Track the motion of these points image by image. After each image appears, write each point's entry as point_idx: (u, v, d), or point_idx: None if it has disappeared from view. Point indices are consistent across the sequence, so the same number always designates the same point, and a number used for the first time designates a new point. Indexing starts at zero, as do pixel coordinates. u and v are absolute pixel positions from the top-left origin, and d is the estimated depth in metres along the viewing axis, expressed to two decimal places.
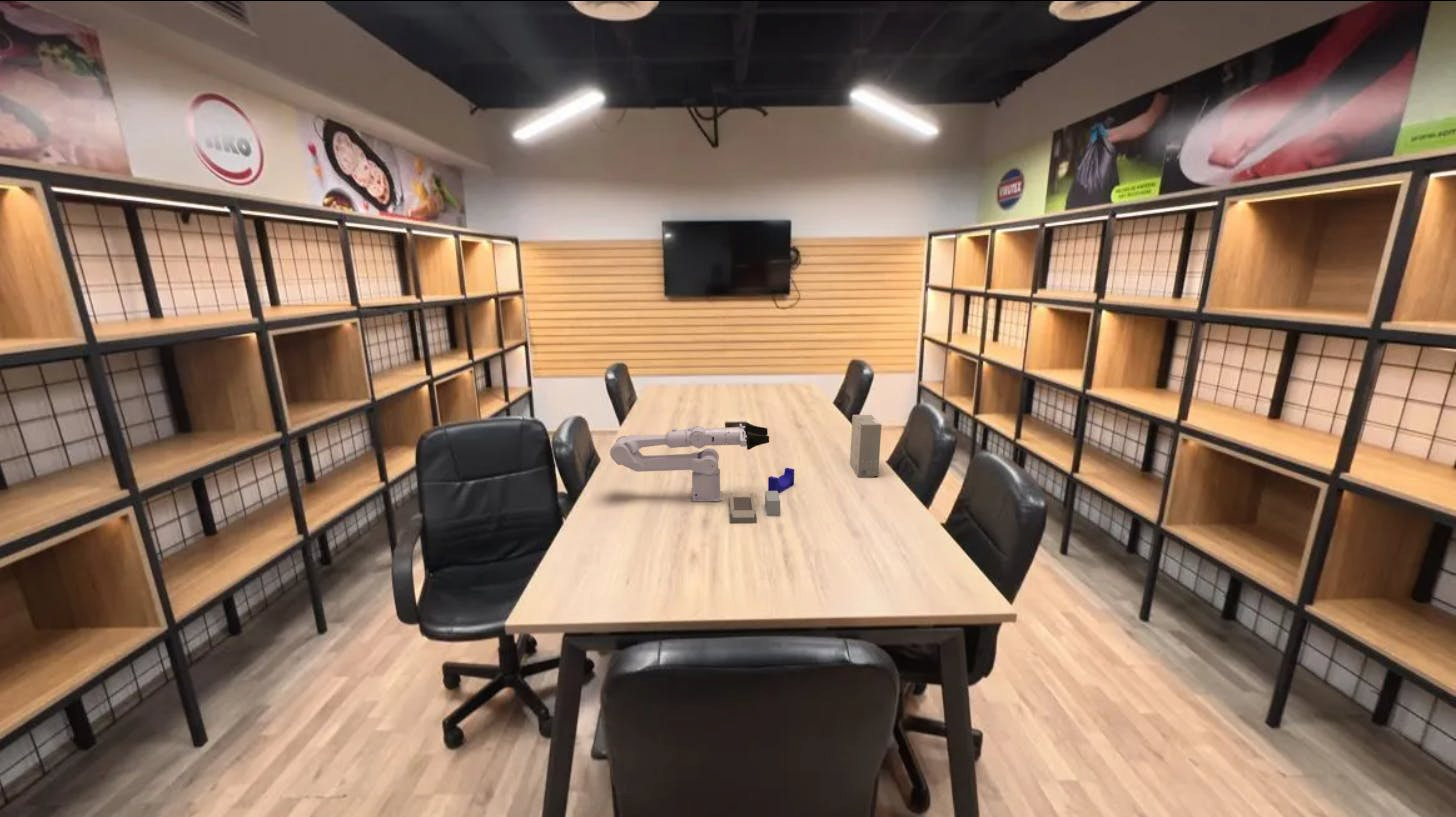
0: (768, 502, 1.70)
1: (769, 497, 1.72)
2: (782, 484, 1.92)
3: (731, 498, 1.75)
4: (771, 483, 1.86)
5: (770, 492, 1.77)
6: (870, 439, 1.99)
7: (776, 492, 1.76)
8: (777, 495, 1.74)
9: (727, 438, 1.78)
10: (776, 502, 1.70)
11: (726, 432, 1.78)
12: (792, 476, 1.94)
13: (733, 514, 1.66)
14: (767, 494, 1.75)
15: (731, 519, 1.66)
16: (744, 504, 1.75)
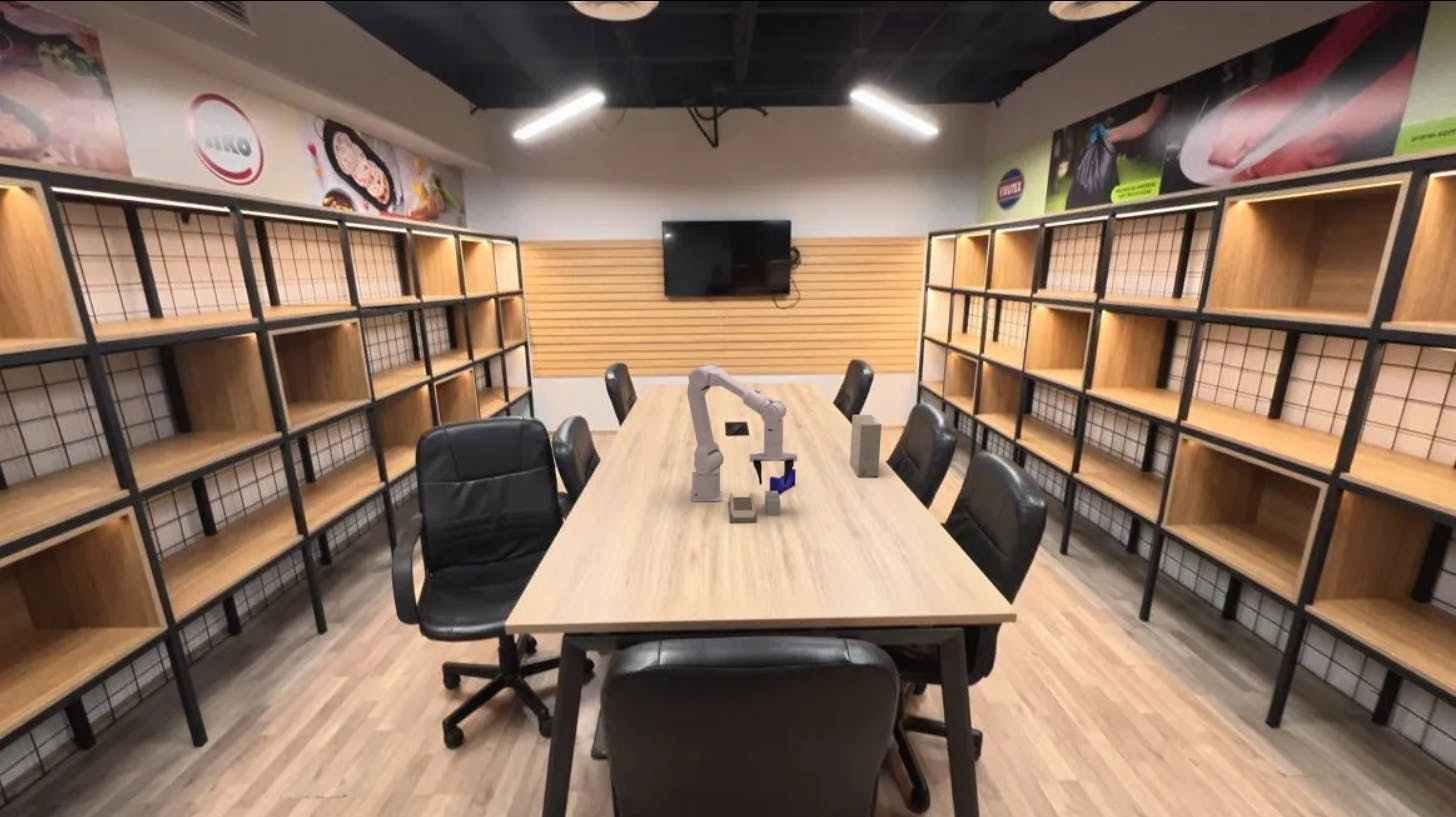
0: (768, 502, 1.70)
1: (769, 497, 1.72)
2: (783, 484, 1.92)
3: (731, 498, 1.75)
4: (773, 483, 1.86)
5: (770, 492, 1.77)
6: (870, 439, 1.99)
7: (776, 492, 1.76)
8: (777, 495, 1.74)
9: (764, 442, 1.69)
10: (776, 502, 1.70)
11: (767, 443, 1.68)
12: (794, 476, 1.94)
13: (733, 514, 1.66)
14: (767, 494, 1.75)
15: (731, 519, 1.66)
16: (744, 504, 1.75)
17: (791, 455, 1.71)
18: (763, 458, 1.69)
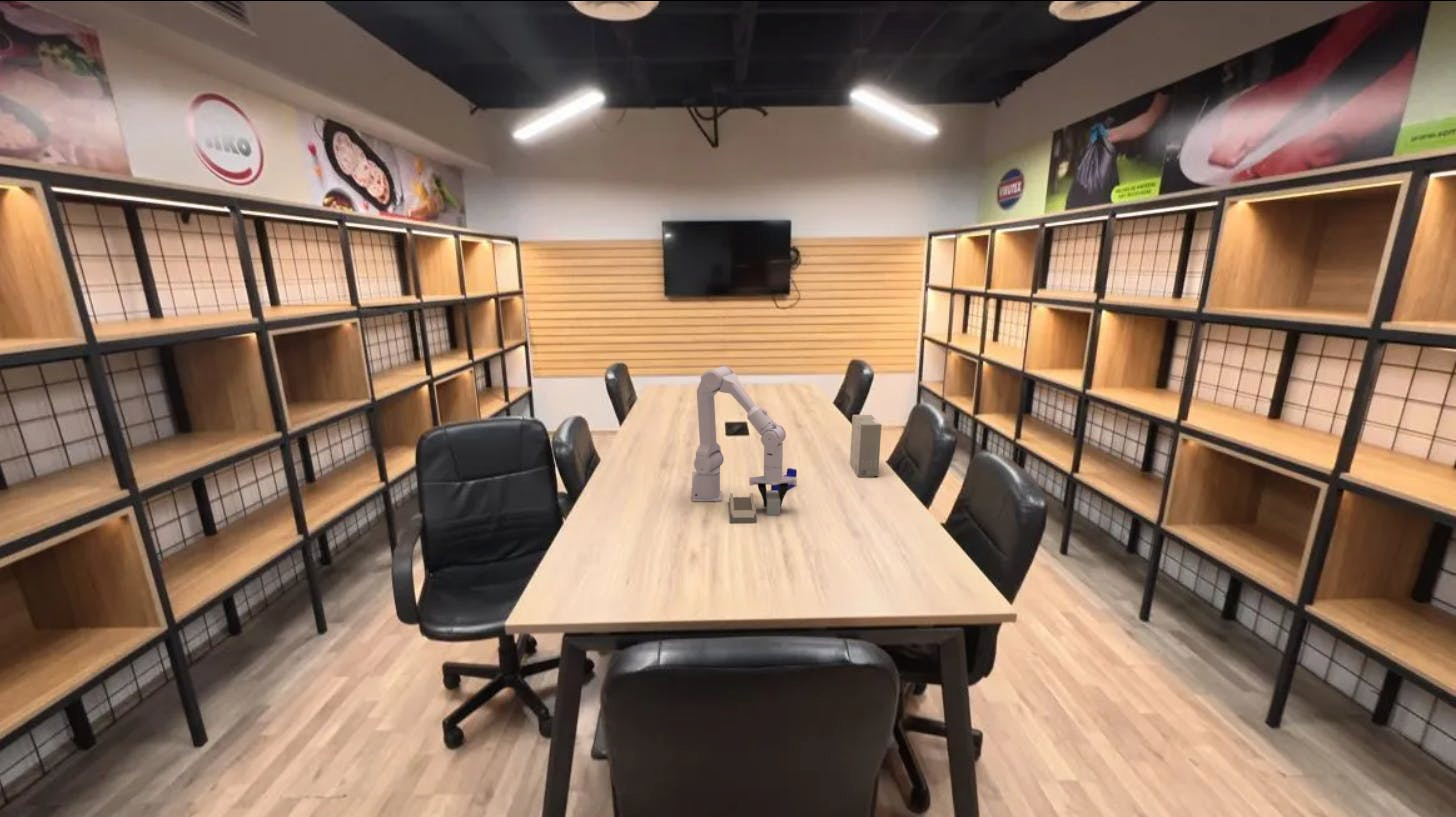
0: (768, 502, 1.70)
1: (769, 497, 1.72)
2: None
3: (731, 498, 1.75)
4: None
5: (770, 491, 1.77)
6: (870, 439, 1.99)
7: (776, 492, 1.76)
8: (777, 495, 1.74)
9: (764, 466, 1.71)
10: (776, 501, 1.70)
11: (767, 467, 1.69)
12: (795, 476, 1.94)
13: (733, 514, 1.66)
14: (767, 494, 1.75)
15: (731, 519, 1.66)
16: (744, 504, 1.75)
17: (790, 478, 1.72)
18: (763, 482, 1.70)
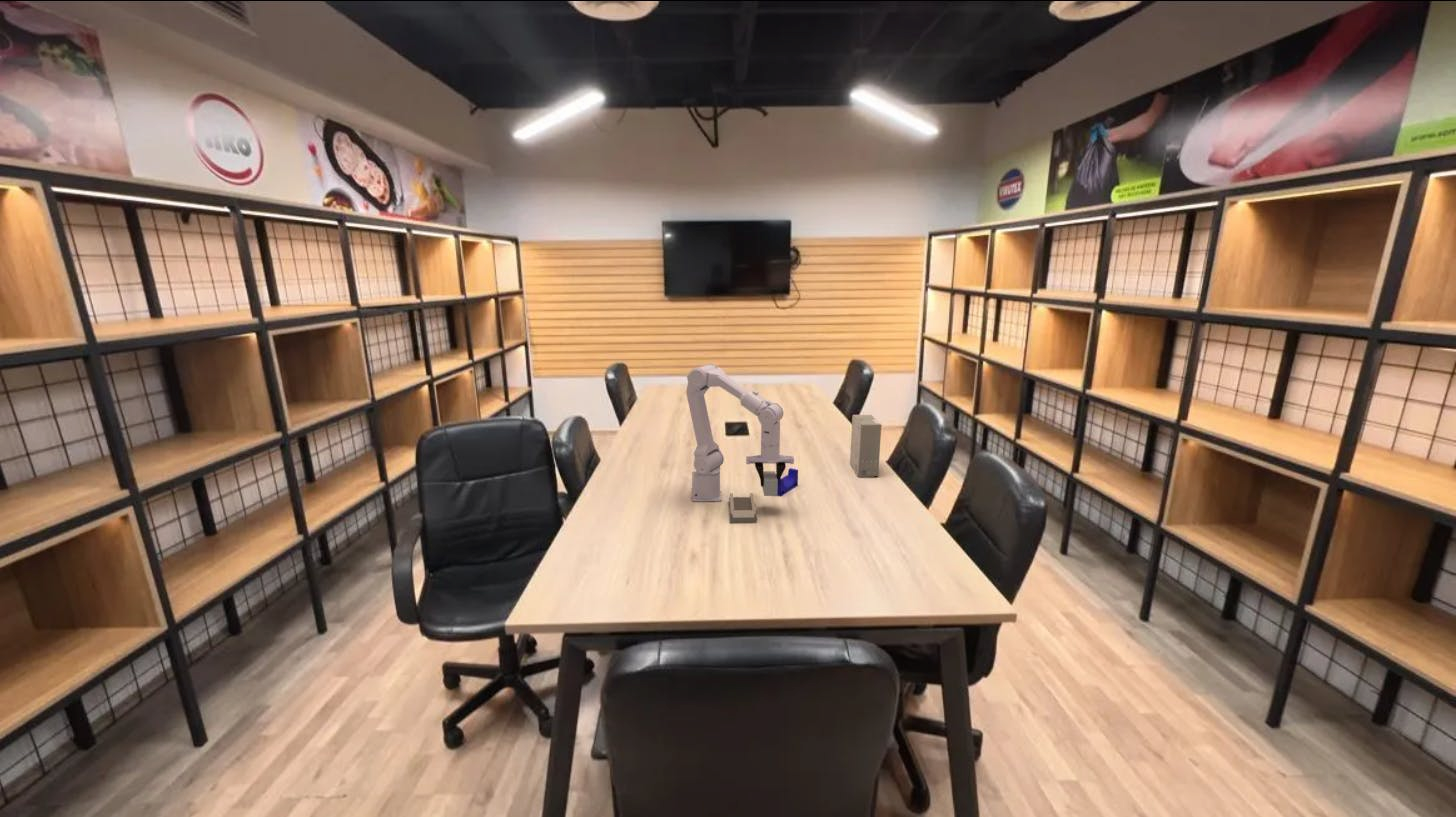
0: (765, 482, 1.68)
1: (766, 477, 1.71)
2: (786, 485, 1.92)
3: (731, 498, 1.75)
4: None
5: (767, 472, 1.75)
6: (870, 439, 1.99)
7: (773, 472, 1.75)
8: (774, 475, 1.72)
9: (761, 445, 1.69)
10: (774, 482, 1.68)
11: (764, 445, 1.68)
12: (796, 476, 1.94)
13: (733, 514, 1.66)
14: (764, 474, 1.73)
15: (731, 519, 1.66)
16: (744, 504, 1.75)
17: (788, 457, 1.71)
18: (760, 460, 1.69)
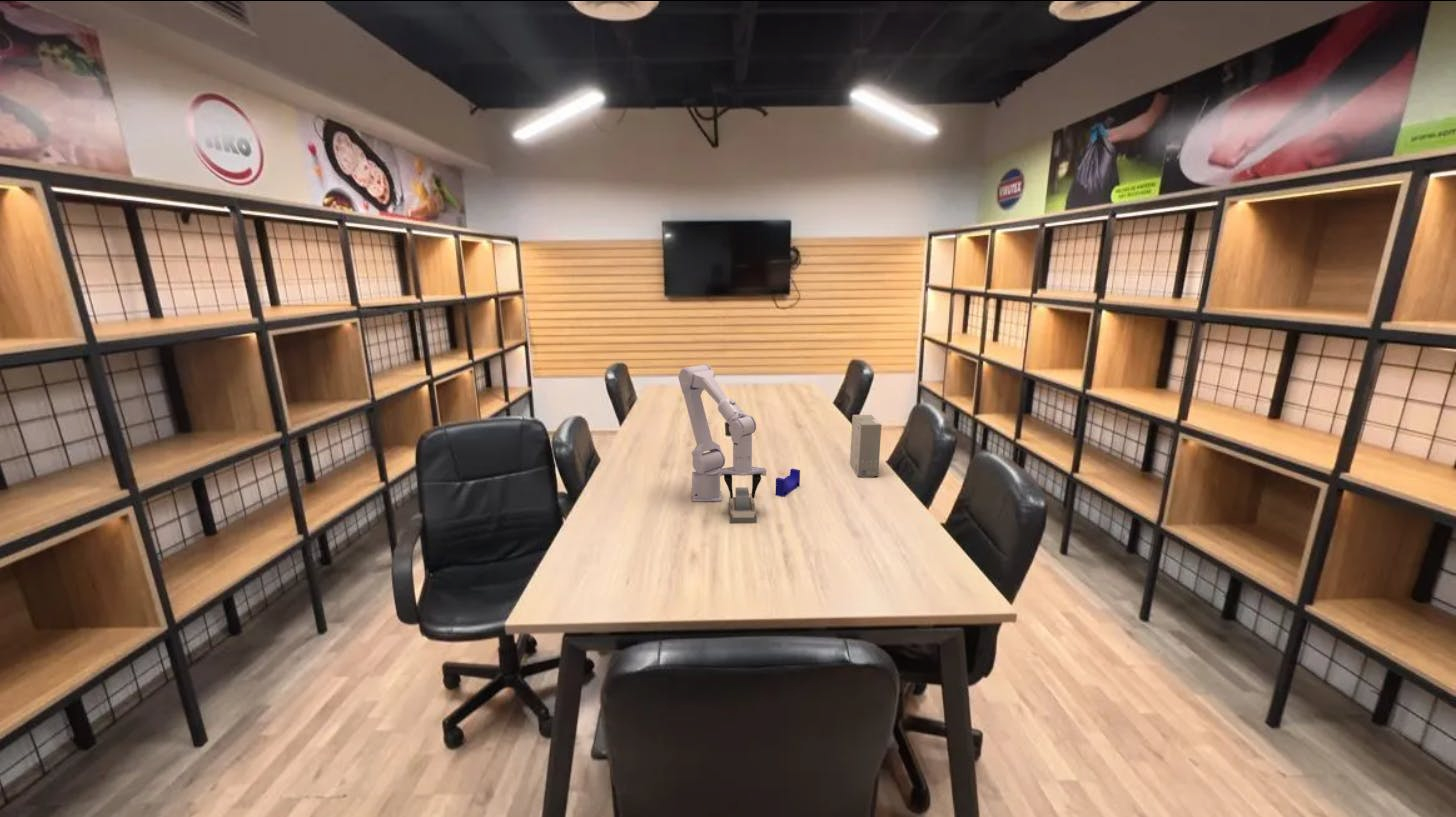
0: (737, 499, 1.68)
1: (738, 494, 1.71)
2: (788, 485, 1.91)
3: (731, 498, 1.75)
4: (779, 484, 1.85)
5: (740, 488, 1.75)
6: (870, 439, 1.99)
7: (746, 489, 1.75)
8: (747, 492, 1.72)
9: (733, 456, 1.69)
10: (745, 498, 1.68)
11: (736, 457, 1.67)
12: (798, 476, 1.93)
13: (733, 514, 1.66)
14: (737, 491, 1.73)
15: (731, 519, 1.66)
16: None
17: (760, 469, 1.70)
18: (732, 472, 1.68)
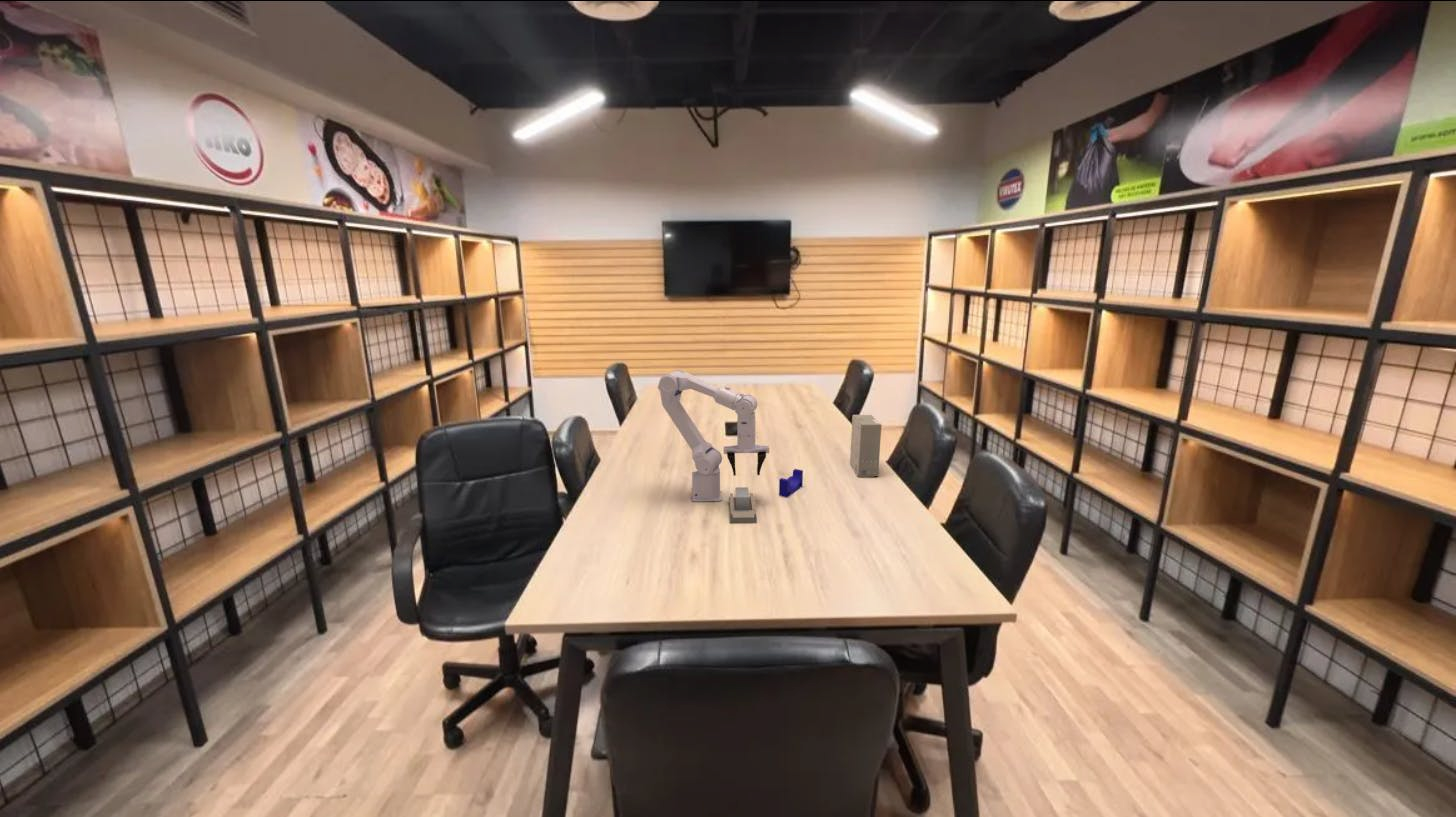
0: (737, 499, 1.68)
1: (738, 494, 1.71)
2: (792, 486, 1.91)
3: (731, 498, 1.75)
4: (782, 485, 1.85)
5: (740, 488, 1.75)
6: (870, 439, 1.99)
7: (746, 489, 1.75)
8: (747, 492, 1.72)
9: (737, 435, 1.76)
10: (745, 498, 1.68)
11: (740, 436, 1.74)
12: (801, 477, 1.93)
13: (733, 514, 1.66)
14: (737, 491, 1.73)
15: (731, 519, 1.66)
16: None
17: (763, 447, 1.77)
18: (736, 450, 1.75)
